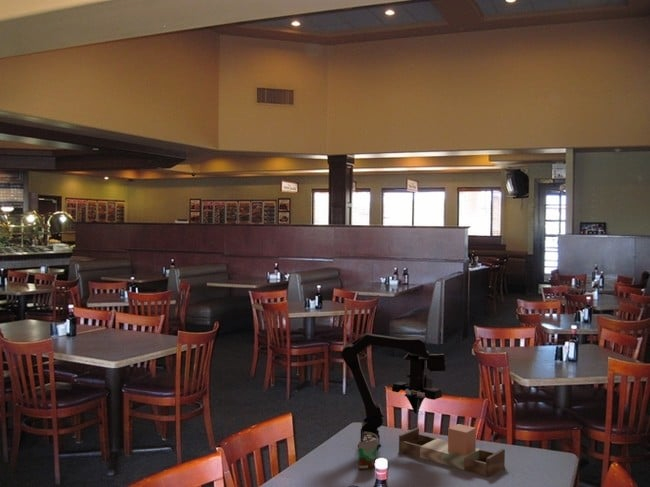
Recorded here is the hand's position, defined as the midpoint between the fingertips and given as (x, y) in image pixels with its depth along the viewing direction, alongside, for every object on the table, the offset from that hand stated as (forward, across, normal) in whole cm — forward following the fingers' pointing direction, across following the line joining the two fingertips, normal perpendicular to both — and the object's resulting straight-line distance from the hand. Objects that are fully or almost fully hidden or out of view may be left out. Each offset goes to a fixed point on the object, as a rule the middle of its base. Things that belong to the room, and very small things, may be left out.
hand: (416, 413), depth 239 cm
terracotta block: (+9, -20, +1) cm, 22 cm away
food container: (+13, +2, +26) cm, 29 cm away
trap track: (+13, -15, +2) cm, 20 cm away
